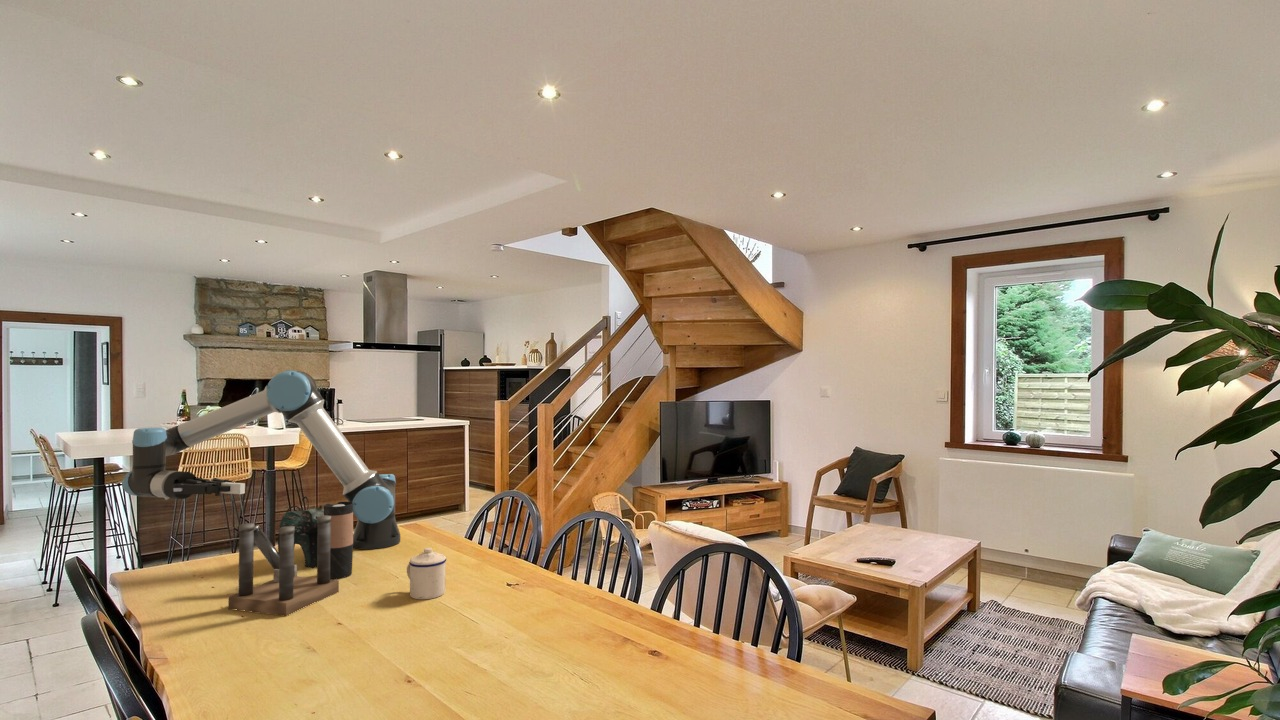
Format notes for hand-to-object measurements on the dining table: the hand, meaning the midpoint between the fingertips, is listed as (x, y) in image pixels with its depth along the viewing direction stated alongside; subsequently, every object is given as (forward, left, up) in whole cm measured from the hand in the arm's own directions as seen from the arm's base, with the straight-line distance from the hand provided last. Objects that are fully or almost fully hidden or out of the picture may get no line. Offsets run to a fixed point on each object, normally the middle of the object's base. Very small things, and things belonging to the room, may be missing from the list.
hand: (242, 488), depth 171 cm
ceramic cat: (-14, -14, -26) cm, 33 cm away
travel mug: (-23, +5, -26) cm, 35 cm away
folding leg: (-10, +12, -21) cm, 26 cm away
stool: (-10, +20, -26) cm, 34 cm away
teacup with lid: (-41, +32, -26) cm, 58 cm away
